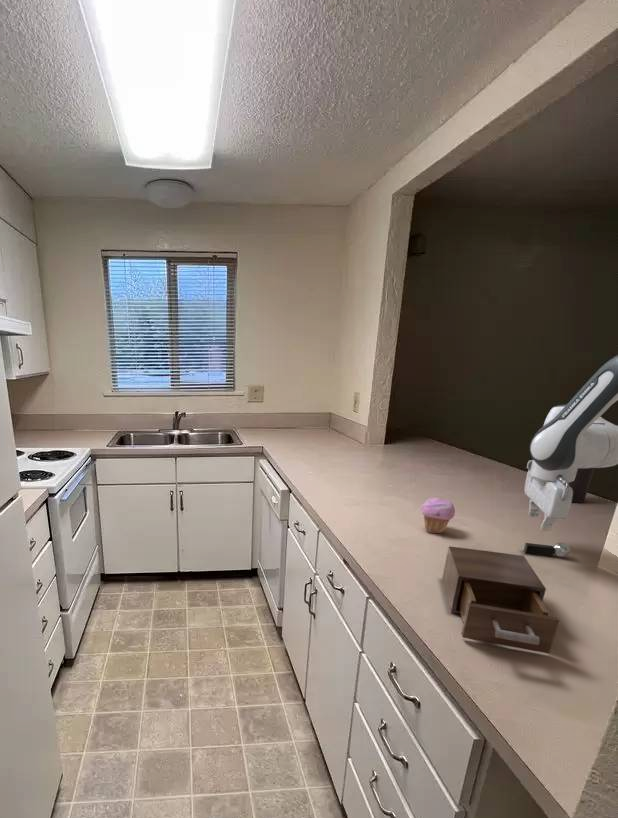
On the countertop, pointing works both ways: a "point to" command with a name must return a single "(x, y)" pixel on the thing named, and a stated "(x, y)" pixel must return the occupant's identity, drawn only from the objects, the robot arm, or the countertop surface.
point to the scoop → (547, 549)
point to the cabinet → (486, 572)
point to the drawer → (506, 616)
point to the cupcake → (437, 514)
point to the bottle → (581, 484)
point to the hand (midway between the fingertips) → (538, 522)
